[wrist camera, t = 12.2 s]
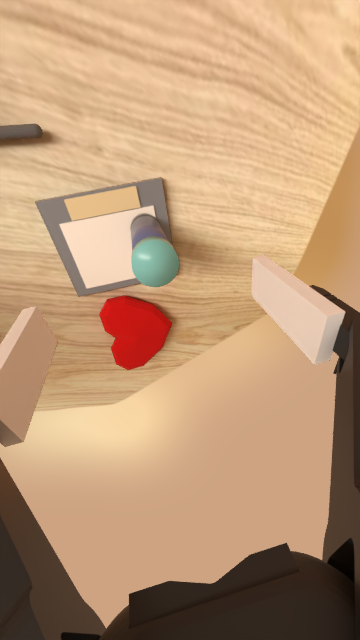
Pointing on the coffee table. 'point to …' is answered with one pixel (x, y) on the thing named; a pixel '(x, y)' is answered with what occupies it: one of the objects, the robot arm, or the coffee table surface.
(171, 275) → the marker
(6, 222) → the coffee table surface
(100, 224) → the clipboard
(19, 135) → the walkie-talkie
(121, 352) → the heart
